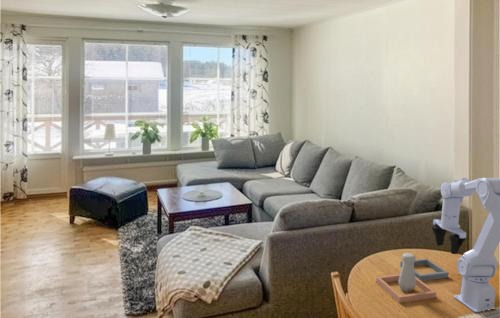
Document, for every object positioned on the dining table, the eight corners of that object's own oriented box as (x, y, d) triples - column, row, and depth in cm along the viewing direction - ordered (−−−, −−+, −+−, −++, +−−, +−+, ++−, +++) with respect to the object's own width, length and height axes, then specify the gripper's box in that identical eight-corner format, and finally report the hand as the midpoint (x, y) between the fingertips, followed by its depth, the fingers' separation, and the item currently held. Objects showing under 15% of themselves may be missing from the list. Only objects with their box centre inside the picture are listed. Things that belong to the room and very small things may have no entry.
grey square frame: (448, 277, 142) (448, 272, 141) (419, 281, 139) (420, 276, 139) (426, 263, 153) (427, 258, 153) (400, 266, 150) (400, 261, 150)
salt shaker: (409, 284, 137) (411, 250, 134) (419, 292, 131) (422, 257, 129) (394, 285, 136) (397, 251, 133) (403, 294, 130) (406, 258, 128)
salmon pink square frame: (435, 297, 128) (436, 292, 128) (398, 302, 125) (399, 297, 125) (409, 277, 141) (410, 272, 141) (376, 281, 138) (376, 276, 138)
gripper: (475, 220, 133) (471, 256, 135) (445, 207, 147) (442, 240, 149) (458, 221, 131) (454, 258, 134) (429, 208, 145) (426, 242, 148)
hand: (446, 249), depth 141 cm, fingers open, 7 cm apart
